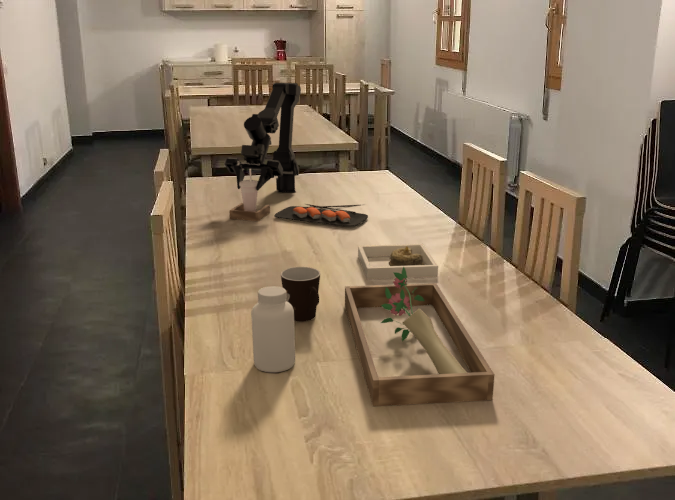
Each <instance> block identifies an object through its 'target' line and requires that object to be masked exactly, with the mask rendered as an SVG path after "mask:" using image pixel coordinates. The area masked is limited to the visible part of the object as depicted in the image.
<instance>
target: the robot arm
mask: <svg viewBox="0 0 675 500" xmlns="http://www.w3.org/2000/svg"><path fill="white" fill-rule="evenodd" d="M271 87H272V90H271V92H270V95H269V98H268V100H267V103H266V104H265V107H264V109H263V110H260V111H259V112H258V113H252V114H251V116H249V117H248V118H247V119H245V121H244V122H243V127H244V129H245V131H246V134H247V135H248V137H249V139H250V140H251V144H242V145H241V149H240V150H241V151H240V156H243V160H244V161H246V162H241V161H240V160H239V158H238V157H227V158H225V161H224V162H223V163H224V166H225V168H226V169H227V171H228V172H229V173H230V174H235V177H236V187H237V189H238V190H241V187H240V186H239V182H240V181H243V180H245V179H244V178H245V176H246V174H245V173H244V170H249V169H251V171H252V170H254V171H260V174H259V177H258V180H257V181H258V183H257V187H256V190H257V191H259V190H260V189H261V188H262V187H263V186H264V185H265V184H266V183H268V182H269V181H270V180H271V179H274V178H275V177H276V178H275V183H276V184H275V185H276V187H275V189H276V191H277V193H296V192H297V191H296V176H299V175H300V167H299V165H298V162H297V160H296V154H295V153H294V150H293V148H292V147H293V131H294V130H293V129H294V128H293V127H294V115H295V112H294V110H295V107H296V106H297V105H298V103H299V101H300V96H301V94H302V88H301V86H300V85H299V84H298V83H297V82H275V83H273V84H272V86H271ZM279 113H280V120H279V119H278V116H279ZM278 129H279V132H278V133H279V136H278V147H277V148H276V150H274V151H273V155H272V156H273V157H272V159H268V157H269V156H268V150H269V147H270V146H272V137H271V136H270V134H275V133H276V132H277V130H278ZM266 160H267V162H266ZM265 162H266V163H265Z"/></svg>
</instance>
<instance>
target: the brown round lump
mask: <svg viewBox="0 0 675 500" xmlns="http://www.w3.org/2000/svg"><path fill="white" fill-rule="evenodd" d="M388 257H389V262H388V266H414V265H426V264H425V262H424V261H423V256H422V255H421V254H420V255H419V254H417V253H416V254H412V249H410V248H408V247H407V246H406V248H400V249H396V250H394V251H393V252H392V253H391V255H390V256H388Z"/></svg>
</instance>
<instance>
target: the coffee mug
mask: <svg viewBox="0 0 675 500" xmlns="http://www.w3.org/2000/svg"><path fill="white" fill-rule="evenodd" d="M280 279H281V281H280V282H281V285H282V286H281V287H282V288H284V289H285V290H286V294H287V298H286V301H287V302H289V303H290V304H291V305H292V307H293V310H294V322H297V323H300V322H301V323H305V322H310V321H312V320H314V319H315V318H316V315H317V314H316V313H317V307H318V305H319V303H320V294H319V289H320V280H321V271H320V270H319V269H317V268H314V267H310V266H291V267H288V268H286V269H283V270H281V272H280Z"/></svg>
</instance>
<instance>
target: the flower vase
mask: <svg viewBox="0 0 675 500" xmlns="http://www.w3.org/2000/svg"><path fill="white" fill-rule="evenodd" d="M393 273H394V275H395V277H396V278H395V279H393V281H392V283H393V285H395V287H397V288H398V287H399V288H400V289H401V288H402V287H403V286H404V287H405V286H406V284H408V283H407V282H408V280H407V279H408V278H407V274H406V270H405V268H404V267H403V269H402V274H400V273H397V272H393ZM405 288H406V287H405ZM415 289H417V288H415ZM415 289H414V290H415ZM406 290H407V291H408V289H407V288H406ZM414 290H413V291H412V293H414ZM408 293H409V291H408ZM385 294H386V297H387V299H389V303H388V304H383V305H381V306H382V307H381V308H383V309H384V310H386V311H390V314H391V315H394V316H395V317H397V316H398V317H401V316H403V315H406V314H407V315H408V317H407V318H406V319H405V320H403V321H402V323H401V324H402V325H404V327H405V328H403V327H396V328H395V330H394V334H398V333H399V332H401V331H402V332H401V341H402V343H403V342H404V341H405V340H406V339H407V338H408V336H409V334H410V333H412V335H413V336H414V337H415V339H416V340H417V342H418V343H419V344H420V345H421V347H422V348H423V350H424V351H425V352H426V353H427V354H428V356H429V358H430V360H431V362H432V364H433V366H434V367H435V370H436V372H437V374H454V373H468V372H467V371H466V369H465V368H463V366H462V365H461V363H460V362H459V361H458V359H456V357H454V355H453V354H452V353H451V352H450V350H449V349H448V348H447V347H446V346H445V344H444V343H443V342H442V340H441V338H440V337H439V335H438V334H437V332H436V331H435V329H434V328H435V327H434V325H433V322H432V318H430V317H429V315H427V314H426V313H425V312H424V311H423V310H422V309H421V308H420V307H419V308H418V309H416V310H415V311H413V306H412V305H411V296H410V293H409V297H410V299H409V298H408V297H407V296H406V295H405V294H404V291H403V289H402V290H401V292H400V293H399V294H397V293H396V295H395V296H394V295H391V293H390V291H389V289H388V288H387V287H386V289H385ZM391 296H392V297H391ZM412 297H413V296H412ZM409 300H410V303H407V302H408V301H409ZM414 300H418V301H425V300H424V299H423V297H421V296H420V295H416V296H415V297H414ZM409 310H410V311H411V314H410V312H409ZM393 322H396V323H399V324H400V322H399V321H396V320H395V319H393V318H392V317H386V318H383V320H382V321H381V322H380V324H386V323H387V324H388V323H393ZM406 328H407V329H406Z"/></svg>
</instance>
